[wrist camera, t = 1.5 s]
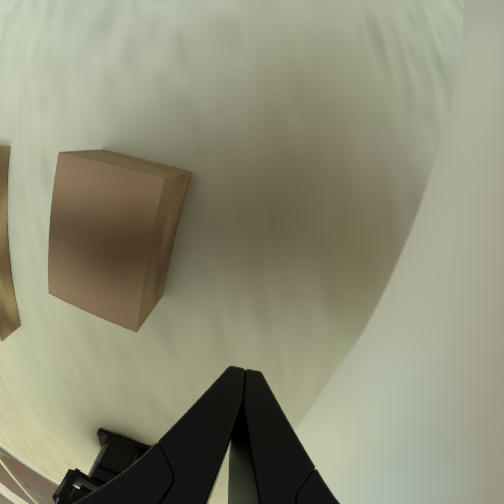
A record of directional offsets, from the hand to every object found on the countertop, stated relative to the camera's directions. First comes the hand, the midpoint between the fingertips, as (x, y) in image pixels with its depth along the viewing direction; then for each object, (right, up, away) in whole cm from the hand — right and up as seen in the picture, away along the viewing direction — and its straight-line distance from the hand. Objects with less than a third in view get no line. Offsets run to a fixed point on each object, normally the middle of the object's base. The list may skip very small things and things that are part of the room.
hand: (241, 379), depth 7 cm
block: (-7, +5, +10) cm, 13 cm away
